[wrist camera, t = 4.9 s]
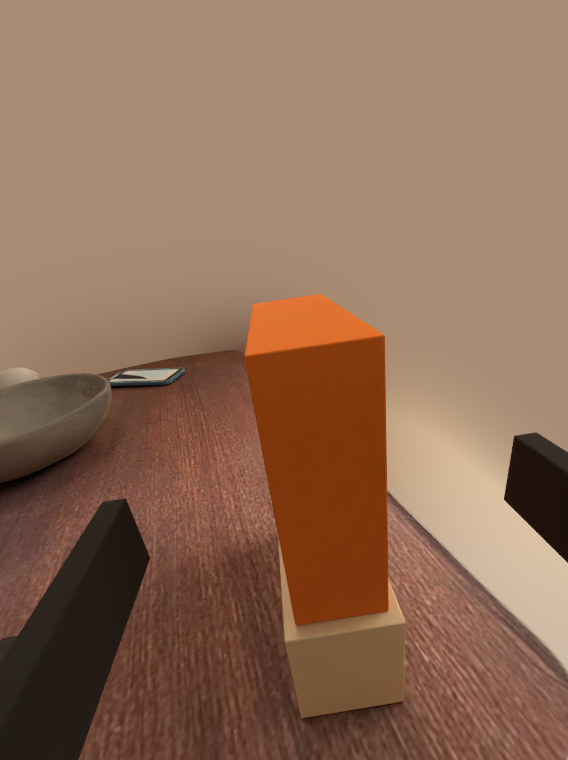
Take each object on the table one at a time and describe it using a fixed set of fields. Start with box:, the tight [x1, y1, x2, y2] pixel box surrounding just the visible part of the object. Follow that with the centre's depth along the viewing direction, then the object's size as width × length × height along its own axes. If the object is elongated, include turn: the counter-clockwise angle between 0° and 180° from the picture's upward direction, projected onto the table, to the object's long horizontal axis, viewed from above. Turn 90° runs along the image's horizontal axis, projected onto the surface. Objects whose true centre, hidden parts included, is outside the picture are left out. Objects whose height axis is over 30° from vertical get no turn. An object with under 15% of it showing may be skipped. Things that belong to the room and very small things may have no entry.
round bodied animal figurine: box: [0, 368, 42, 388], centre depth 54 cm, size 7×12×8 cm, turn 124°
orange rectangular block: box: [244, 294, 389, 626], centre depth 16 cm, size 10×4×12 cm, turn 4°
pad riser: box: [278, 537, 405, 718], centre depth 19 cm, size 11×5×6 cm, turn 4°
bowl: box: [0, 373, 112, 483], centre depth 40 cm, size 21×21×8 cm
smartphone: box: [108, 368, 185, 386], centre depth 65 cm, size 7×1×15 cm
